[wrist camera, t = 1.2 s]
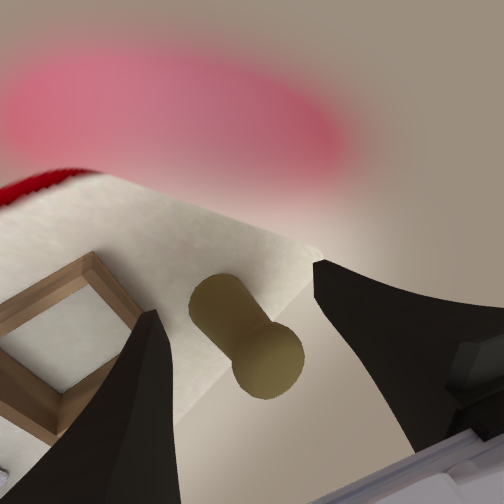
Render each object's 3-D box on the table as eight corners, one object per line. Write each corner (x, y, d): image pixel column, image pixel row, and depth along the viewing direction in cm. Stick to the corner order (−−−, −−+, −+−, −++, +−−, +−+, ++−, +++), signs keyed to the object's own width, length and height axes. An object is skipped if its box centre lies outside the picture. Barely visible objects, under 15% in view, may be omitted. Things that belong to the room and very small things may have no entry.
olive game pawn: (254, 304, 30) (327, 370, 20) (208, 341, 28) (264, 430, 19) (229, 261, 27) (302, 315, 17) (176, 300, 25) (224, 382, 16)
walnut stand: (59, 405, 23) (53, 447, 19) (-45, 330, 18) (-76, 369, 15) (160, 332, 25) (171, 359, 22) (91, 251, 21) (92, 268, 17)
